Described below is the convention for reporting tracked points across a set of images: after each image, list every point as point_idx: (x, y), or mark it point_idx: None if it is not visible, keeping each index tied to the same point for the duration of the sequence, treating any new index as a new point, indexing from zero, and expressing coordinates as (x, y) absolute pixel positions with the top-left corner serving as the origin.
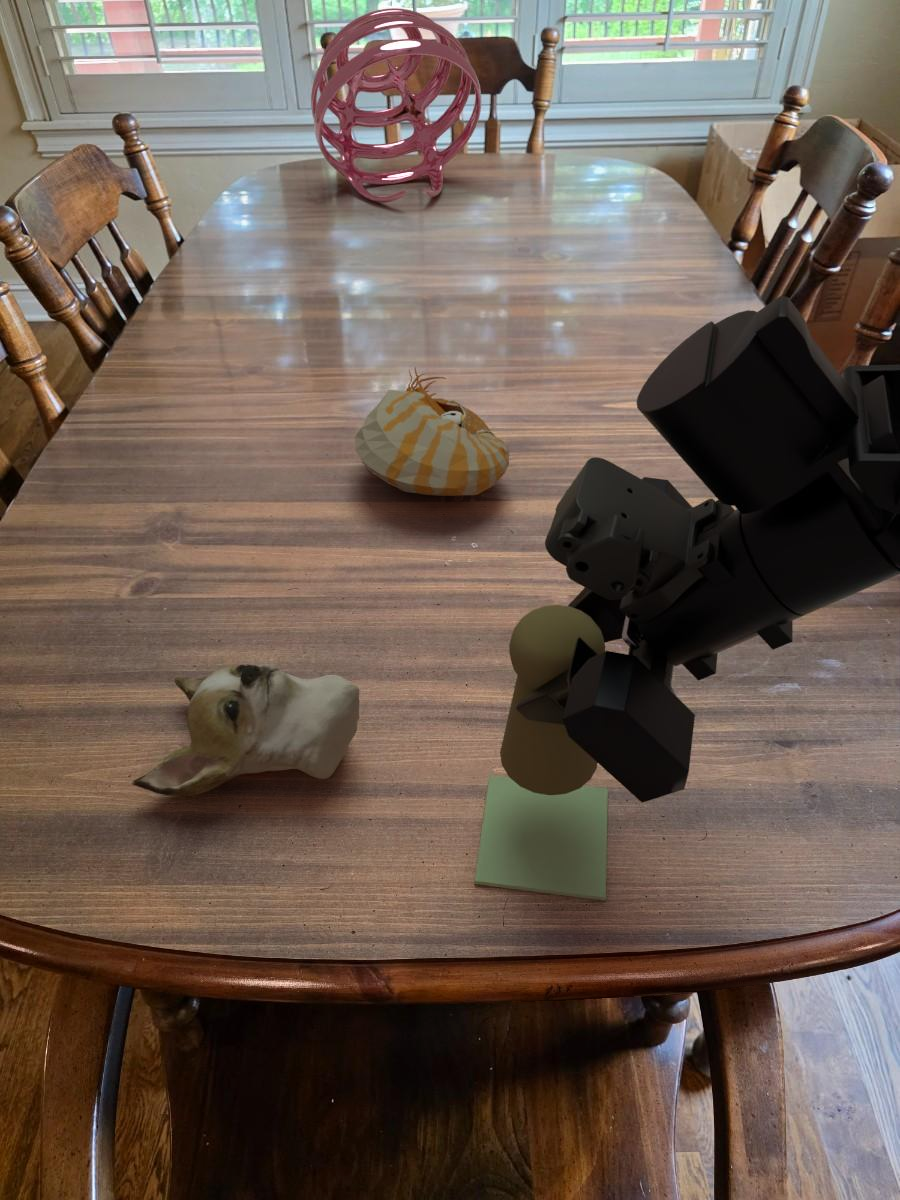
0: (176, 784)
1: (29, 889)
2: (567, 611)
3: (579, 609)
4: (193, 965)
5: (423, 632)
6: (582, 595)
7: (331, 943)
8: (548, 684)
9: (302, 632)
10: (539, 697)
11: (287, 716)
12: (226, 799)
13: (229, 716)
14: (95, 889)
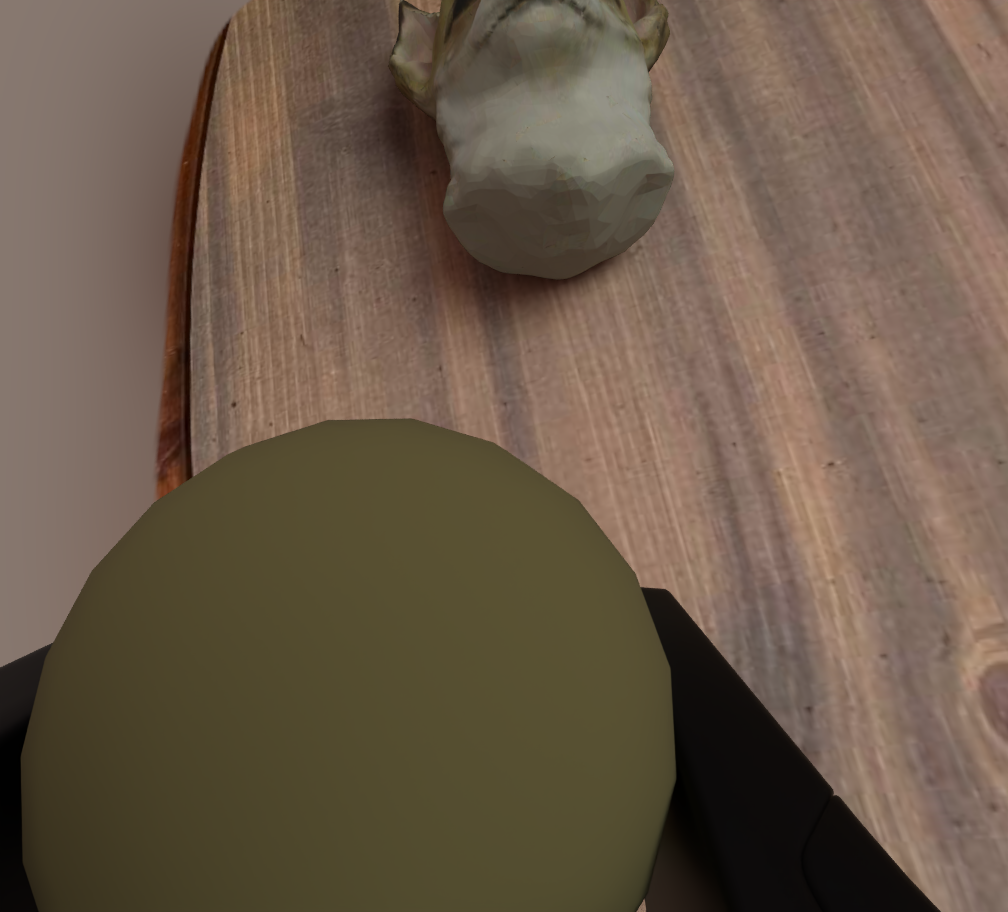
0: (423, 61)
1: (271, 5)
2: (496, 780)
3: (703, 864)
4: (178, 220)
5: (966, 332)
6: (825, 902)
7: (214, 379)
8: (29, 691)
9: (860, 112)
10: (40, 650)
11: (494, 99)
12: (442, 150)
13: (456, 2)
14: (277, 68)
